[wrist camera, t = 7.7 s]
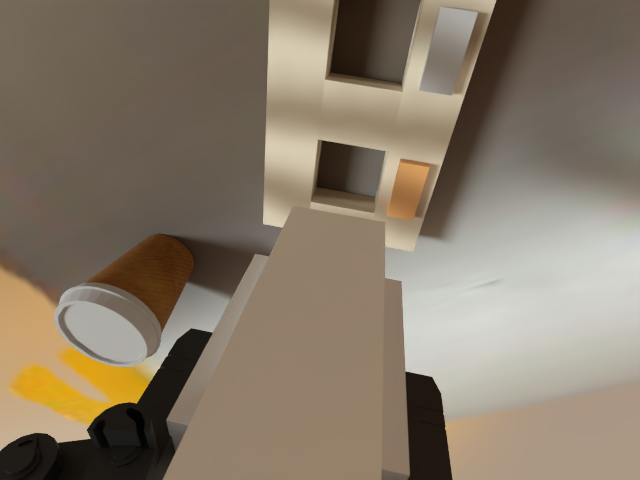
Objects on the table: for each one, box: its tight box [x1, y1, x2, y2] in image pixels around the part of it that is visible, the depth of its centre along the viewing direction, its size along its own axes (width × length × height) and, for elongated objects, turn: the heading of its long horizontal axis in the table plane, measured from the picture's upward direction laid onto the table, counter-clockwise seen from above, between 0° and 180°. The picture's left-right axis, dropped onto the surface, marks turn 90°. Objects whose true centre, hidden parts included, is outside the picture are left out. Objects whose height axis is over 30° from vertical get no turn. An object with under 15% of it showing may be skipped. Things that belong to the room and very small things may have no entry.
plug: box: [163, 206, 386, 480], centre depth 11 cm, size 4×4×14 cm
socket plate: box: [263, 0, 496, 252], centre depth 28 cm, size 22×14×4 cm, turn 174°
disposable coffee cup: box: [54, 234, 194, 367], centre depth 37 cm, size 10×10×12 cm
